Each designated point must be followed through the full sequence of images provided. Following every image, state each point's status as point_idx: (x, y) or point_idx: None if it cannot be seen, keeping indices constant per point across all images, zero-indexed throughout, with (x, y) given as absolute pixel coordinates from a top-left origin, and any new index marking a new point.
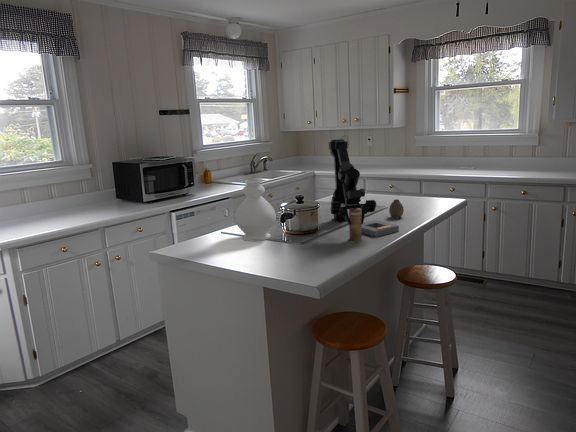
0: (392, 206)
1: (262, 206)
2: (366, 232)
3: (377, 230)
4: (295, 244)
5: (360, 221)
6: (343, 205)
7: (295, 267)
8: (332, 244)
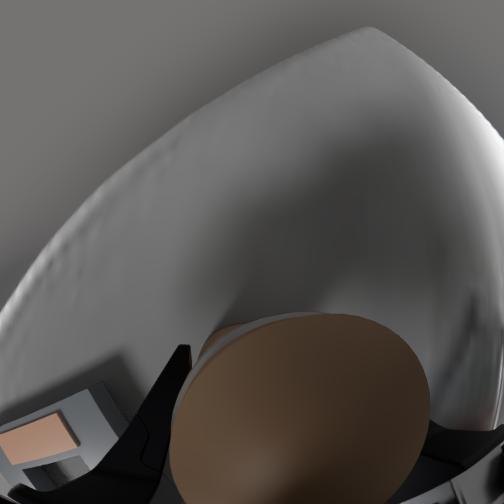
0: None
1: None
2: None
3: (72, 402)
4: (486, 301)
5: (212, 342)
6: (485, 492)
7: (435, 98)
8: (382, 276)
